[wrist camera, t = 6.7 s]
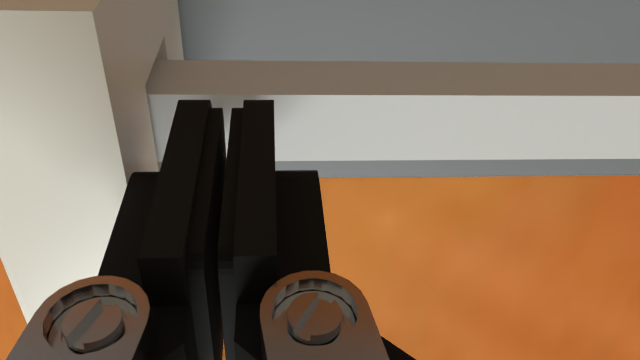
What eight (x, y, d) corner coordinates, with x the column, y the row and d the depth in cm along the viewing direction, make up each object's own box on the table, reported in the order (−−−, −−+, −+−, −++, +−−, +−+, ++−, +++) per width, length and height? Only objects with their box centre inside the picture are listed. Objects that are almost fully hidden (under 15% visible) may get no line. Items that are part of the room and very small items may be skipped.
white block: (167, -95, 13) (92, 11, 7) (194, 153, 17) (158, 340, 12) (58, -99, 13) (-101, 8, 7) (111, 153, 17) (35, 343, 11)
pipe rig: (1061, -146, 15) (1482, -95, 10) (840, 165, 21) (1029, 299, 16) (-344, -205, 12) (-799, -178, 7) (-140, 172, 18) (-305, 339, 13)
